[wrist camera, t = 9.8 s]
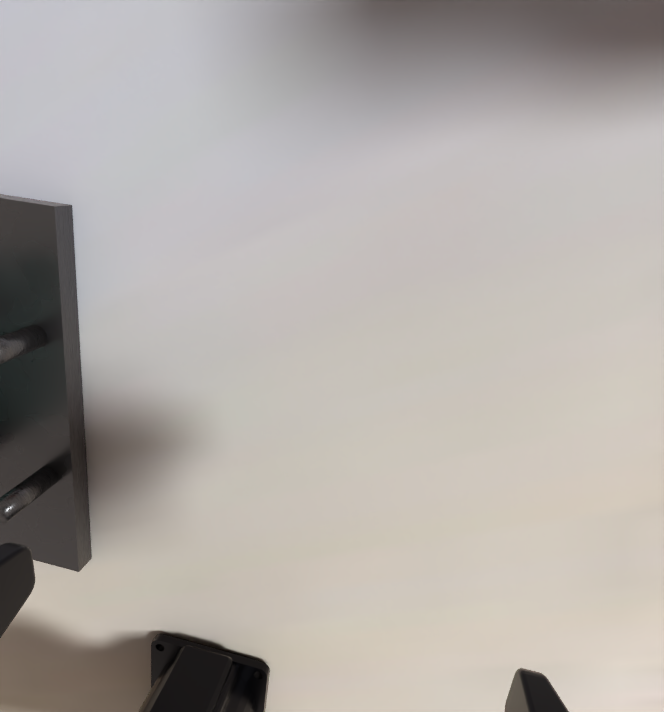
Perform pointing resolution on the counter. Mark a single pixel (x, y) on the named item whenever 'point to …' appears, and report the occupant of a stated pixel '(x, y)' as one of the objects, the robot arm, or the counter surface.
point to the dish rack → (41, 386)
